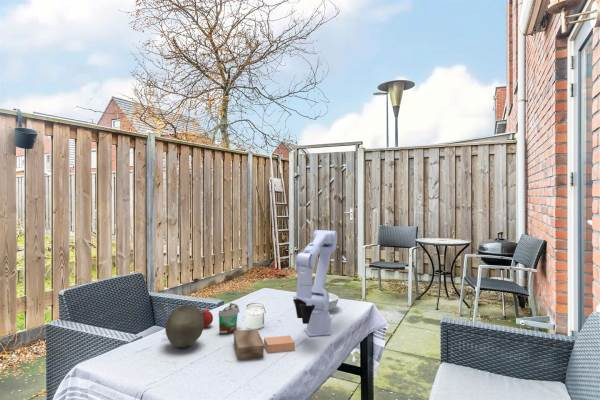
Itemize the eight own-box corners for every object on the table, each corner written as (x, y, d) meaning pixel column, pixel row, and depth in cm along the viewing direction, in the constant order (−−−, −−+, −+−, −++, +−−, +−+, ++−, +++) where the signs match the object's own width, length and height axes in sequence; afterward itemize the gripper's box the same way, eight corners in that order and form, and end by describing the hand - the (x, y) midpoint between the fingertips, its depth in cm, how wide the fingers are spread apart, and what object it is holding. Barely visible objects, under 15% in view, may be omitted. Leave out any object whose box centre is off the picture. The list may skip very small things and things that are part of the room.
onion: (205, 330, 150) (205, 311, 150) (195, 327, 153) (196, 309, 153) (215, 326, 155) (216, 308, 155) (206, 324, 158) (206, 305, 158)
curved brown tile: (256, 341, 140) (257, 329, 140) (264, 359, 125) (264, 345, 125) (233, 343, 138) (233, 330, 138) (238, 361, 122) (238, 347, 122)
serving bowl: (340, 316, 172) (340, 302, 172) (296, 315, 172) (296, 301, 172) (336, 304, 193) (336, 291, 193) (297, 303, 193) (297, 290, 193)
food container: (232, 337, 143) (232, 312, 143) (217, 336, 145) (218, 311, 145) (243, 327, 156) (243, 303, 156) (229, 325, 157) (230, 302, 157)
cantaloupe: (155, 350, 130) (156, 308, 130) (182, 337, 143) (182, 299, 143) (187, 357, 124) (188, 314, 124) (212, 343, 138) (212, 303, 138)
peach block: (289, 343, 139) (289, 335, 139) (294, 350, 132) (294, 342, 132) (264, 345, 136) (264, 337, 136) (267, 353, 130) (267, 344, 130)
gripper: (289, 281, 144) (288, 315, 143) (299, 287, 130) (297, 326, 129) (306, 281, 145) (305, 315, 145) (318, 287, 132) (316, 325, 131)
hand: (302, 320), depth 137 cm, fingers open, 7 cm apart
